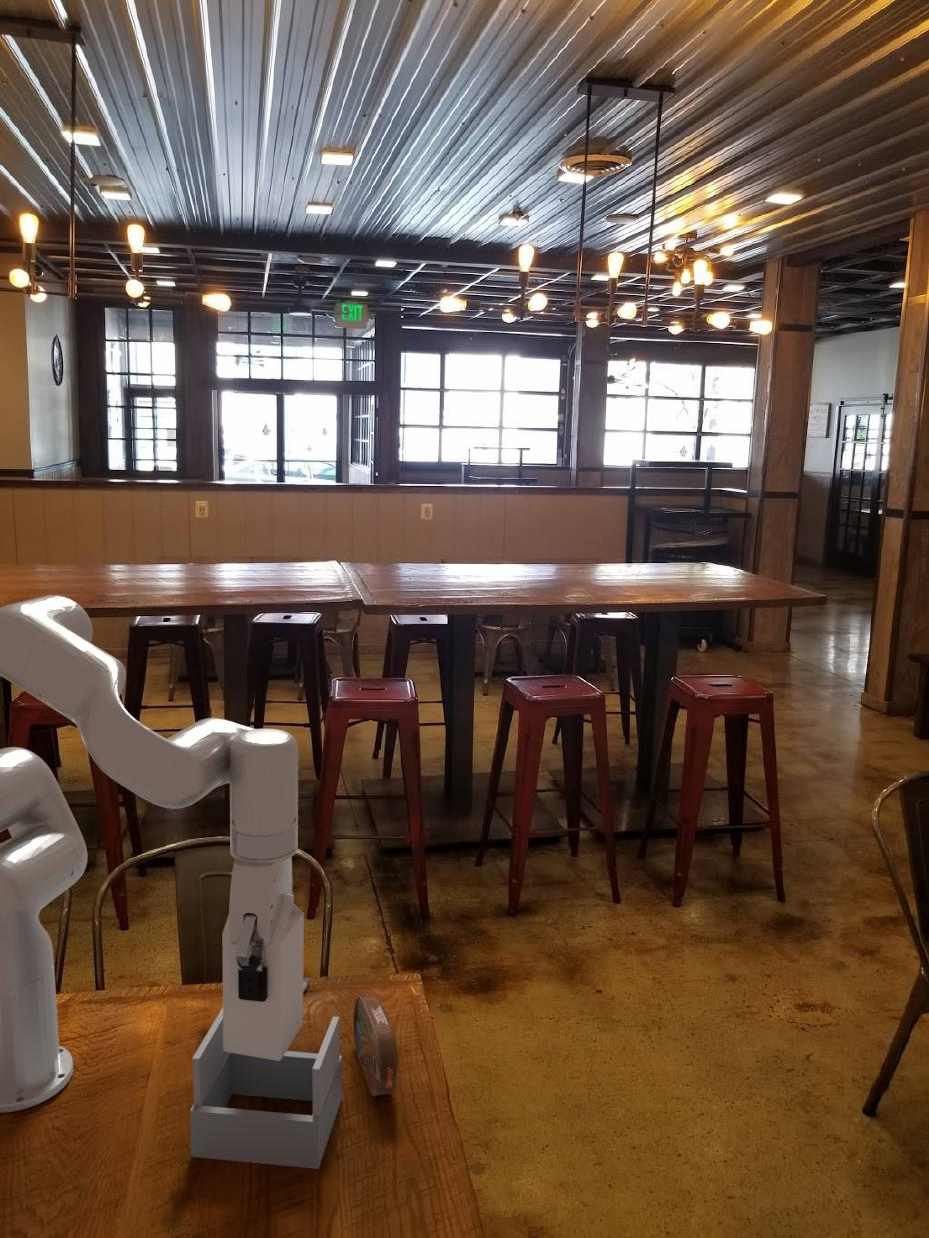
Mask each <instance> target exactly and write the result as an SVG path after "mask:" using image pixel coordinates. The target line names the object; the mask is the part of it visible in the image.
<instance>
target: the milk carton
mask: <svg viewBox="0 0 929 1238" xmlns="http://www.w3.org/2000/svg"><path fill="white" fill-rule="evenodd" d="M294 898H295V896H294V894H292V895H291V894H284V904H283V907H282V911H281V914H280V917H279V920H278V924H277V927H276V930H275V933H274V936H273V938H272V942H271V944H270V945H268V946H267V947H266V959H265V965H264V967H268V978H267V999H266V1001H264V1002H259V1001H249V1000H241V999H239V996H238V963H237V958H236V950H237V946H238V943H237V944H231V943H230V942H229V939H228V932H229V914H228V916H227V918H226V922H225V924H224V928H223V931H222V1008H223V1050H224V1051H225V1052H230V1053H236V1054H242V1055H247V1056H253V1057H259V1058H264V1059H270V1060H276V1061H280V1060H281V1059H282V1057H283V1056H284V1054H285V1053H286V1051H288V1049H289V1048H290V1047H291V1044H292V1043H293V1041H294V1040H295V1038H296V1036H297V1035H298V1033H299V1031H300V1030H301V1028H302V1027H303V1020H304V1016H303V1015H304V992H303V981H304V935H305V933H304V930H305V928H304V927H305V925H304V923H305V918H304V917H305V913H304V912H303V910H301V908H300V907H298V906H297V905H296V904H294ZM262 939H263V938H260V936H259V934H255V936H254V939H253V941H260V942H262ZM238 942H239V941H238ZM259 950H260V947H252V948H251V951H252V955H255V956H256V957H257V959H258V957H259Z"/></svg>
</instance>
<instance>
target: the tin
mask: <svg viewBox="0 0 929 1238" xmlns="http://www.w3.org/2000/svg"><path fill="white" fill-rule="evenodd" d="M353 1038H354V1045H355V1047H354V1048H355V1052H356V1056H357V1058H358V1062H359V1064H360V1067H361V1071H362V1073H363V1076H364V1078H365V1082H366V1085H367V1088H368V1090H369V1092H370V1095H372V1097H377V1096H380V1095H388V1094H392V1093H394V1092H395V1090H396V1089H397V1077H398V1076H397V1074H398V1073H397V1072H398V1065H399V1064H398V1063H399V1055H398V1054H399V1053H398V1045H397V1040H396V1035H395V1033H394V1030H393V1027H392V1024H391V1022H390V1020H389V1018H388V1015H387V1013H386V1010H385V1009H384V1005H383V1004H382V1002H381V1000H380V998H379V997H378V996H374V995H373V996H372V995H371V996H358V997H357V998H356V1000H355V1003H354V1009H353Z"/></svg>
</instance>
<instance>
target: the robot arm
mask: <svg viewBox="0 0 929 1238" xmlns="http://www.w3.org/2000/svg"><path fill="white" fill-rule="evenodd" d="M93 634H94V633H93V624H92V620H91V618H90V617H89V614H88V613H87V611H86V610H85V609H84V608H83V606H81V605H80V604H78V602H76V601H74V600H72V599H71V598H68V597H66V596H63V595H53V594H52V595H51V594H48V595H44V596H40V597H35V598H30V599H27V600H23V601H20V602H16V603H11V604H7V605H4V606H2V607H0V677H2V678H3V679H5V680H7V681H8V682H10V683H12V684H13V685H15V686H17V687H18V688H19V689H21V690H23V691H25V692H26V693H27V694H29V695H30V696H32V697H34V698H36V699H37V700H39V701H40V702H41V703H43V704H45V705H47V706H48V707H50V708H51V709H53V710H54V711H56V712H57V713H59V714H61V715H63V716H64V717H66V718H67V719H68V720H70V721H71V722H73V724H75V725H76V728H77V729H78V733H79V736H80V739H81V741H82V743H83V745H84V746H85V748H86V750H87V752H88V753H89V755H90V757H91V758H92V760H93V762H94V763H95V765H97V766H98V768H99V769H100V770H101V771H102V772H103V774H105V775H107V776H108V777H109V778H110V779H111V780H113V781H115V782H116V783H118V785H121V786H122V787H124V788H125V789H127V790H129V791H130V792H132V793H134V794H135V795H136V796H138V797H140V798H142V799H143V800H146V801H147V802H148V803H151V804H153V805H155V806H156V805H157V806H158V807H162V808H166V809H183V808H184V809H185V808H186V807H189V806H192V805H194V804H196V802H199V801H200V800H201V799H202V798H204V797H205V796H207V795H208V794H209V793H210V792H212V790H215V788H218V787H220V786H224V785H226V784H229V819H230V820H229V823H230V824H229V829H230V830H229V831H230V832H229V834H230V835H229V836H230V837H229V838H230V839H229V840H230V841H229V844H230V846H229V850H230V851H229V852H230V856H232V858H234V860H233V867H232V873H231V881H230V891H229V894H230V895H229V908H228V909H229V911H228V915H229V932H228V939H229V942H230V943H231V944H237V943H238V946H237V950H236V958H237V963H238V996H239V999H241V1000H249V1001H259V1002H264V1001H266V999H267V978H268V967H264V965H265V959H266V947H267V946H268V945H270V944H271V942H272V938H273V936H274V933H275V930H276V927H277V924H278V920H279V917H280V914H281V911H282V907H283V904H284V894H291V895H293V863H292V861H293V860H292V857H293V856H295V855H296V854H297V852H298V849H299V848H298V843H299V842H298V839H299V838H298V836H299V835H298V834H299V833H298V832H299V831H298V830H299V822H298V821H299V813H298V812H299V745H298V742H297V739H296V738H295V736H294V735H292V734H291V733H289V732H288V731H286V730H283V729H276V728H268V727H267V728H266V727H265V728H253V727H250V726H247V725H243V724H240V723H238V722H237V723H236V722H234V721H231V720H229V719H224V718H218V717H208V718H204V719H203V718H202V719H200V720H198V721H196V722H193V724H191V725H189V726H188V727H186V728H183V729H181V730H179V731H178V732H176V733H174V734H172V735H171V736H169V737H167V738H166V737H164V736H163V735H160V734H159V733H157V732H155V731H154V730H153V729H151V728H149V727H147V726H146V725H144V724H143V723H141V722H140V720H139V721H138V720H137V719H136V718H135V717H134V716H133V715H131V714H130V712H128V710H127V709H126V708H125V706H124V705H123V703H122V700H121V698H120V696H121V694H122V692H123V689H124V686H125V683H126V680H127V678H126V677H127V671H126V668H125V665H124V664H123V663H122V662H121V661H120V660H119V659H118V658H116V657H115V656H113V655H111V654H110V653H108V652H106V651H104V650H103V649H101V648H99V647H98V646H96V645H95V644H93V643H92V639H93ZM5 830H8V832H9V834H10V836H11V838H9V839H7V840H5V841H3V842H2V843H0V1114H1V1113H2V1114H3V1113H11V1112H18V1111H22V1110H26V1109H30V1108H31V1107H34V1106H37V1105H39V1104H41V1103H44V1102H46V1101H48V1100H49V1099H50V1098H52V1097H53V1096H55V1095H56V1094H58V1093H59V1092H60V1091H61V1090H62V1089H64V1088H65V1086H66V1085H67V1084H68V1082H70V1080H71V1077H72V1076H73V1073H74V1059H73V1055H72V1054H71V1052H70V1051H69V1050H68V1049H66V1048H65V1047H63V1046H61V1045H60V1037H59V1025H58V1024H59V1023H58V1006H57V1005H58V1004H57V991H56V989H57V988H56V977H55V961H54V950H53V943H52V940H51V937H50V935H49V933H48V931H47V930H46V929H45V928H44V927H43V925H42V924H41V922H40V917H39V915H40V912H41V911H42V910H43V909H44V907H46V906H48V904H50V903H51V902H52V901H53V900H54V899H56V898H57V897H59V896H60V895H61V894H63V893H65V891H67V890H68V889H69V888H71V887H73V886H74V884H76V883H77V882H78V880H80V879H81V877H82V876H83V875H84V873H85V870H86V868H87V864H88V851H87V850H88V849H87V846H86V845H87V844H86V842H85V840H84V837H83V835H82V832H81V830H80V828H79V825H78V823H77V820H76V818H75V817H74V815H73V813H72V811H71V809H70V806H69V804H68V802H67V799H66V797H65V796H64V794H63V792H62V789H61V787H60V784H59V782H58V780H57V779H56V777H55V775H54V773H53V771H52V770H51V768H50V767H49V765H48V764H47V763H46V762H45V761H44V760H43V759H42V758H41V757H40V756H39V755H37V754H36V753H35V752H33V751H31V750H29V749H26V748H23V747H17V746H10V747H4V748H0V833H2V832H4V831H5ZM255 934H259V936H260V938H263V939H262V942H260V941H253V939H254V936H255ZM238 941H239V942H238ZM252 947H260V950H259V957H258V959H257V957H256V956H255V955H252V951H251V948H252Z"/></svg>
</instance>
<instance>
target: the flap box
mask: <svg viewBox="0 0 929 1238" xmlns="http://www.w3.org/2000/svg"><path fill="white" fill-rule="evenodd" d="M318 1051H319V1052H318V1053H313V1052H302V1051H291V1050H290V1051H289V1050H287V1051H286V1053H285V1054H284V1056H283V1057H282V1059H281V1060H280V1061H276V1060H270V1059H264V1058H259V1057H253V1056H247V1055H242V1054H236V1053H230V1052H225V1051H224V1050H223V1007H222V1008H221V1009H220V1012H219V1013H218V1014H217V1016H216V1018H215V1020H214V1021H213V1023H212V1025H211V1026H210V1028H209V1030H208V1032H207V1033H206V1034H205V1036H204V1038H203V1039H202V1041H201V1043H200V1045H199V1046H198V1048H197V1050H196V1052H195V1053H194V1055H193V1057H192V1058H191V1059H192V1084H193V1085H192V1086H193V1089H192V1091H193V1092H192V1093H193V1104H192V1106H191V1108H190V1110H189V1125H190V1126H189V1127H190V1128H189V1129H190V1151H191V1154H190V1155H191V1156H190V1157H191V1158H199V1159H209V1160H210V1159H212V1160H220V1161H230V1162H231V1161H233V1162H239V1163H240V1162H241V1163H242V1162H243V1163H250V1164H251V1163H253V1164H264V1165H273V1166H283V1167H292V1168H293V1167H295V1168H296V1167H297V1168H305V1169H314V1170H318V1169H320V1168H321V1167H320V1166H321V1164H322V1160H323V1157H324V1154H325V1152H326V1149H327V1148H326V1147H327V1145H328V1142H329V1139H330V1136H331V1133H332V1130H333V1127H334V1124H335V1122H336V1121H335V1120H336V1118H337V1115H338V1112H339V1108H340V1106H341V1103H342V1100H343V1055H341V1054H340V1016H332V1019H331V1020H330V1023H329V1026H328V1028H327V1031H326V1033H325V1036H324V1039H323V1041H322V1043H321V1046H320V1048H319V1050H318ZM232 1095H238V1096H239V1095H240V1096H251V1097H262V1098H272V1099H273V1098H275V1099H287V1100H294V1101H295V1100H296V1101H297V1100H298V1101H307V1102H312V1114H311V1115H310V1114H297V1113H286V1112H275V1111H264V1110H251V1109H242V1108H241V1109H240V1108H231V1107H230V1108H229V1107H226V1106H227V1105H228V1102H229V1100H230V1098H231V1096H232Z"/></svg>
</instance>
